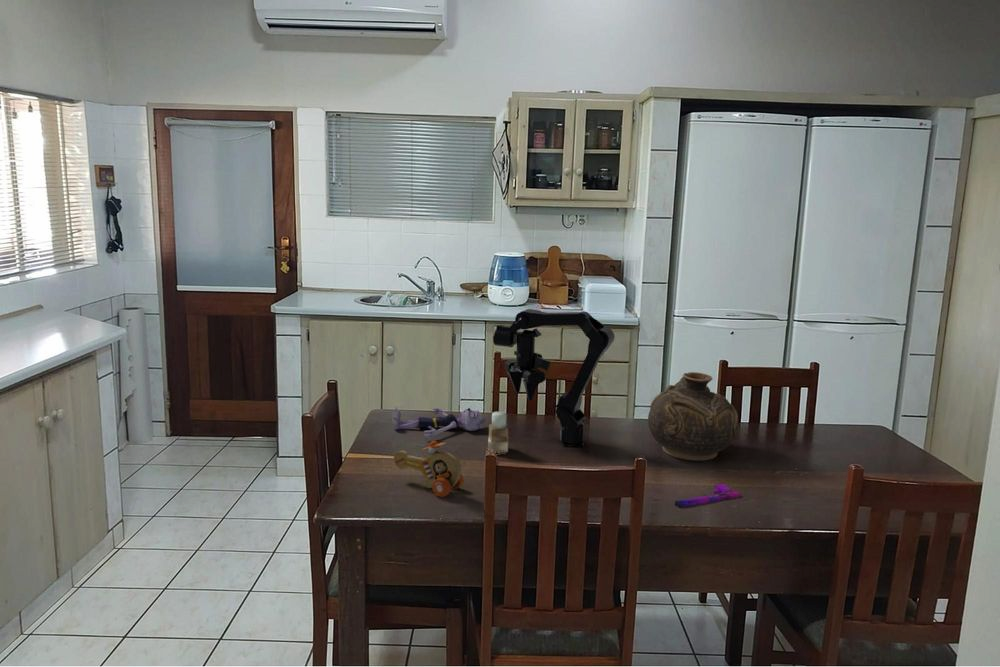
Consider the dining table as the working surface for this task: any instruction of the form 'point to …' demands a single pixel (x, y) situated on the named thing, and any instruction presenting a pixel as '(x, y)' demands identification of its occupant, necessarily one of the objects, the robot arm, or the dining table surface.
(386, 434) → the dining table surface
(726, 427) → the vessel
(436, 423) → the toy
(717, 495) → the handgun
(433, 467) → the toy helicopter
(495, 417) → the grey rounded cylinder
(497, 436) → the top block
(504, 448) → the base block
